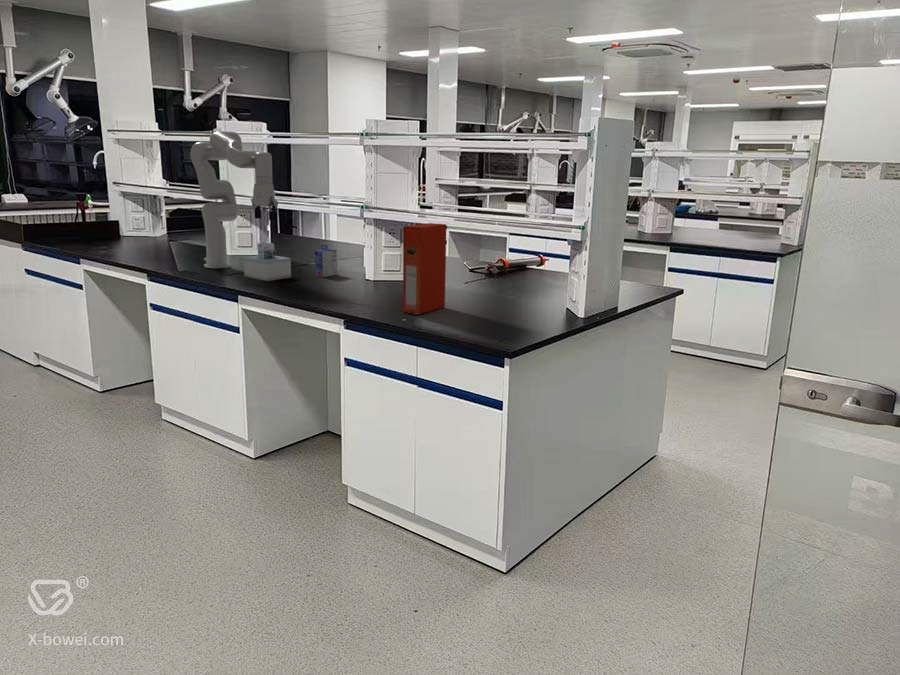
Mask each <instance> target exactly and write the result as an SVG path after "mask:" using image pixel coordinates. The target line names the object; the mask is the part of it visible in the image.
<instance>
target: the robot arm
mask: <svg viewBox="0 0 900 675" xmlns="http://www.w3.org/2000/svg"><path fill="white" fill-rule="evenodd" d="M190 159H191V162H192V165H193V167H194V169H195V172H196V175H197V180H198V186H199V190H200V194H201V197H202V198H203V199H204V200H207V201H211V202H206V203H204V205H202V207H201V215H202V219H203V224H204V230H205V231H204V233H205V248H206V257H204V259H203V261H205V262H206V263H204V264H203V267H204V268H206V269H207V268H208V269H225V268H226V269H227V268H230V267H231V265H232V264H231V263H228V254H227V253H228V250H227V235H226V229H225V227H224V226H223V223H224V222H233V221H235V220H237V218H238V216H239V209H238V204H237V200H236V194H235V190H234V186H233V185H232V183H231V182H230V181H228V180H227V179H226V180H225V179H217V175H216V171H215V169H214V167H213V166H212V165H211V163H210V162H209V161H225V160H227V161H228V163H229V164H231V165H232V166H234V167H236V168H238V169H254V181H255V182H254V183H253V190H252V191H253V192H252V198H251V199H250V201H251V206H252V207H253V210H254V218H255V219H262V210H261V209H262V208H261V207H263V208H268V209H269V211H268V220H269V221H276V212H277V209H278V207H279V201H278V200H277V199H275V198H276V194H275V188H274V184H273V156H272V154H271V153H270V152H264V151H256V150H255V151H254V150H243V144H242V138H241V136H240V135H239V134H238V133H236V132H233V131H215V132H213V133H212V134H210V136H209V141H198V142H195V143H193V145H192V146H191V149H190ZM218 200H220V201H218ZM221 222H223V223H221Z"/></svg>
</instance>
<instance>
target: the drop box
mask: <svg viewBox="0 0 900 675" xmlns="http://www.w3.org/2000/svg"><path fill="white" fill-rule="evenodd" d="M242 258H243V277H244V278H248V279H255V280H259V281H265V282H271V281H276V280H283V279H289V278H292V267H291V266H292V265H291V264H292V262H291V257H286V256H279V255H275V258H274V259H267V260H265V259H259V258H258V255H254V256H253V255H251V256H245V257H243V256H242Z"/></svg>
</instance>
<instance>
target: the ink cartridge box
mask: <svg viewBox="0 0 900 675" xmlns="http://www.w3.org/2000/svg"><path fill="white" fill-rule="evenodd" d="M320 247H321V249H319V250H315V251H314V257H315V260H314V262H315V276H316V277H320V278H325V277H330V276H331V277H333V276H336V275H338V258H337V257H338V253H337V249H334V248H328V245H327V244H321V245H320Z"/></svg>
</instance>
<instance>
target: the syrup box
mask: <svg viewBox="0 0 900 675" xmlns="http://www.w3.org/2000/svg"><path fill="white" fill-rule="evenodd" d="M257 256H258V258H259V259H265V260H267V259H274V258H275V256H276V253H275V244H274V242H260V243H259V242H258V243H257Z"/></svg>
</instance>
